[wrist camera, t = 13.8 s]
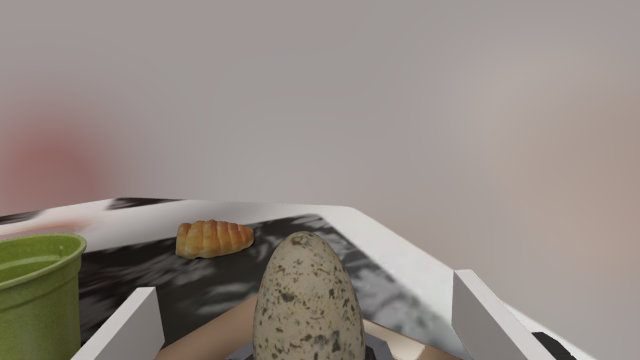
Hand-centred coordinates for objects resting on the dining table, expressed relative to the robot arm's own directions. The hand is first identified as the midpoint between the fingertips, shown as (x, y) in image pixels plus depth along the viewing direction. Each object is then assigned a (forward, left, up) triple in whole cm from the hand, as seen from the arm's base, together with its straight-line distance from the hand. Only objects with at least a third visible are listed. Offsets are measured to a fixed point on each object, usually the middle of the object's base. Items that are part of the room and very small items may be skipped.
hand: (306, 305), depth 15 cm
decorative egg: (-2, +2, -8) cm, 8 cm away
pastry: (-28, +13, -9) cm, 33 cm away
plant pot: (-21, -7, -9) cm, 24 cm away
